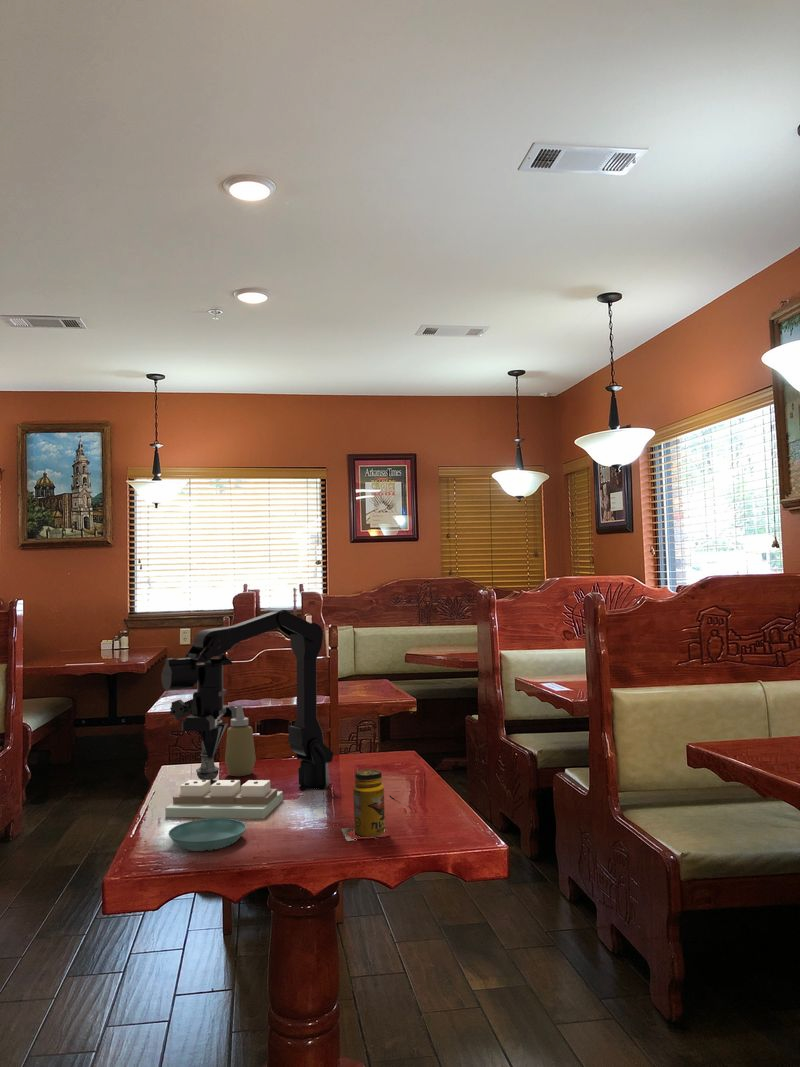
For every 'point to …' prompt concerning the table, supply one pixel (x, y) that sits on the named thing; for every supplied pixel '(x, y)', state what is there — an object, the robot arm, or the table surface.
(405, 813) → the table surface
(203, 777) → the grey tall tapered piece
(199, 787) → the three-pip key
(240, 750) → the squeeze bottle
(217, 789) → the two-pip key
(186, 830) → the saucer
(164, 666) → the robot arm
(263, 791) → the one-pip key
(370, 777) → the condiment
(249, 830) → the table surface
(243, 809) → the board
